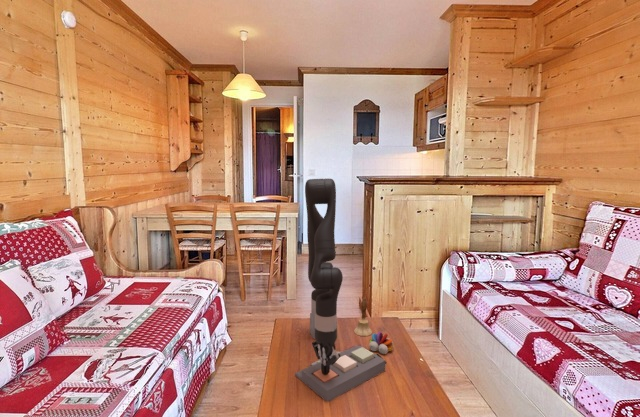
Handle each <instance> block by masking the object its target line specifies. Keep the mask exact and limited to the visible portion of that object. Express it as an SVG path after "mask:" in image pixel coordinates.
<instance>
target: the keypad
mask: <svg viewBox="0 0 640 417" xmlns="http://www.w3.org/2000/svg"><path fill="white" fill-rule="evenodd" d="M361 347H362V346H361V345H360V344H357V345H355V346H352V347H350V348H348V349H345V350H343V351H336V352H337V354H340V357H342V356H344V355H346V356H348V357H349V358H351V359H353V358H352V357H351V352H353V351H355V350H357V349H359V348H361ZM381 357H382V356H381ZM381 357H379V356H377V355H375V353H374V359H372V360H370V361H368V362H366V363H364V364H361V363H360V362H358V361H357V360H355V359H353V360H354V361H356V362H357V367H356V368H354V369H352V370H350V371H348V372H346V373H343V372H341V371H340V370H339V369H337V368H336V367H334V366H333V364H332V365H330V369H331V370H332V371H333V372H335V373H336V374H338V377H336V378H334V379H332V380H330V381H328V382H326V383H323V382H322V381H320V380H319V379H318V378H316V377H315V376H314V375H313V373H314V372H316V371H318V370H320V369H321V362H320V359H317V360H315V361H314V362H312V363H310V365H309V366H308V367H305V368H303V369H301V370H299V371H297V372H295V373H294V376H295V377H296V378H298V379H299V380H300V381H301V382H302V383H303V384H305V385H306V386H307V387H308V388H309V389H311V390H312V391H313V392H314V393H316V394H317V395H318V396H319V398H320V397H321V399H323V400H324V401H325V402H326V403H328V402H330V401H333V400H334V399H336V398H338V397H339V396H341V395H343V394H345V393H347V392H348V391H350V390H352V389H354V388H356V387H358V386H360V385H361V384H363V383H365V382H367V381H368V380H370V379H372V378H374V377H376V376H378V375H380V374H381V373H383V372H385V371H386V364H387V361H386V359H385V358H383V357H382V358H383V359H382V358H381ZM385 363H386V364H385Z"/></svg>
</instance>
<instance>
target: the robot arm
mask: <svg viewBox="0 0 640 417" xmlns="http://www.w3.org/2000/svg"><path fill="white" fill-rule="evenodd" d="M336 188H337V187H336V182H335V180H334V179H333V178H310V179H307V180H306V182H305V185H304V195H305V196H304V197H305V206H306V216H307V219H306V220H307V222H306V223H307V224H306V225H307V230H306V231H307V247H308V251H307V252H308V261H307V262H308V263H307V264H308V265H307V276H308V277H307V278H308V281H309V283H310V285H311V287H312V288H313V290H312V291H311V297H310V298H311V299H310V300H311V304H310V305H311V307H310V308H311V310H310V314H309V334H310V337H311V338H313V339H314V341H312V342H311V345H312V347H313V351H314V353H315V357H316V359H317V360H320V362H321V371H322V374H324V375H327V374H328V373H329V372H330V365H332V364H334V363H335V362H336V361H337V360H338V359H339V358H340V354H337V352H338V351H337V350H336V349H337V347H336V344H335V343H336V341H337V339H338V316H337V312H338V310H337V305H338V304H337V302H338V297H339V293H340V290H341V287H342V283H343V280H344V279H343V272H342V270H341V269H340V268H338V267H336V266H335V267H334V265H333V263H332V262H331V261H334V260H335V259H336V241H335V240H336V238H335V226H336V212H337V211H336V207H337V205H336V204H337V189H336ZM317 205H327V206H326V212H325V214H324V216H322V215H321V213H320V212H319V211H318V209H317Z"/></svg>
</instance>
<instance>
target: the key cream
mask: <svg viewBox="0 0 640 417" xmlns="http://www.w3.org/2000/svg"><path fill="white" fill-rule="evenodd" d="M333 366H334V367H336V368H337V369H339V370H340V371H341V372H343V373H346V372H348V371H350V370H352V369H354V368H356V367H357V362H356V361H354V360H353V359H351V358H349V357H348V356H346V355H344V356H342V357H340V358H339V359H338V360H337V361H336V362H335V363H334V364H333Z"/></svg>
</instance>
